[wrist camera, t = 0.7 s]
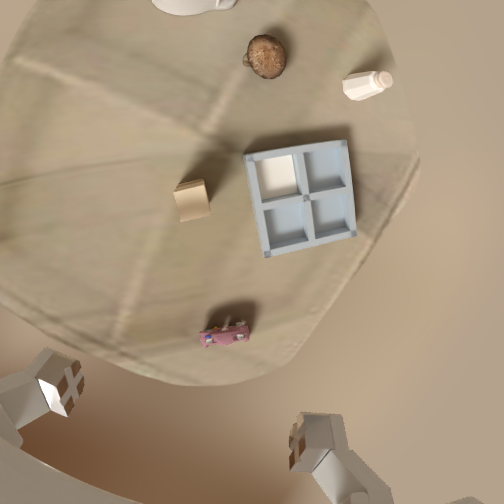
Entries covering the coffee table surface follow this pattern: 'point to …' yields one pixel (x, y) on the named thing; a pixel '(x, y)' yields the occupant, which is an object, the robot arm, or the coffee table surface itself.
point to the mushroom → (265, 56)
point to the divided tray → (301, 195)
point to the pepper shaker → (366, 84)
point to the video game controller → (224, 335)
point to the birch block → (192, 200)
